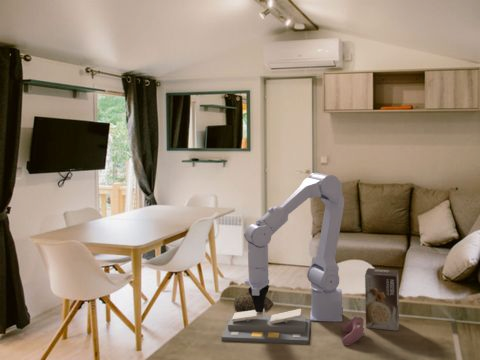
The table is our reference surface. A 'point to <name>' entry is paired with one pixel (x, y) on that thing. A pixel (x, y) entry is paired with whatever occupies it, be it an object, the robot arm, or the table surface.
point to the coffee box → (382, 299)
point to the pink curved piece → (353, 330)
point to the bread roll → (248, 302)
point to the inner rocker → (286, 316)
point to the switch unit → (268, 330)
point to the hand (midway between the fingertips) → (259, 311)
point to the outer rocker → (247, 315)
